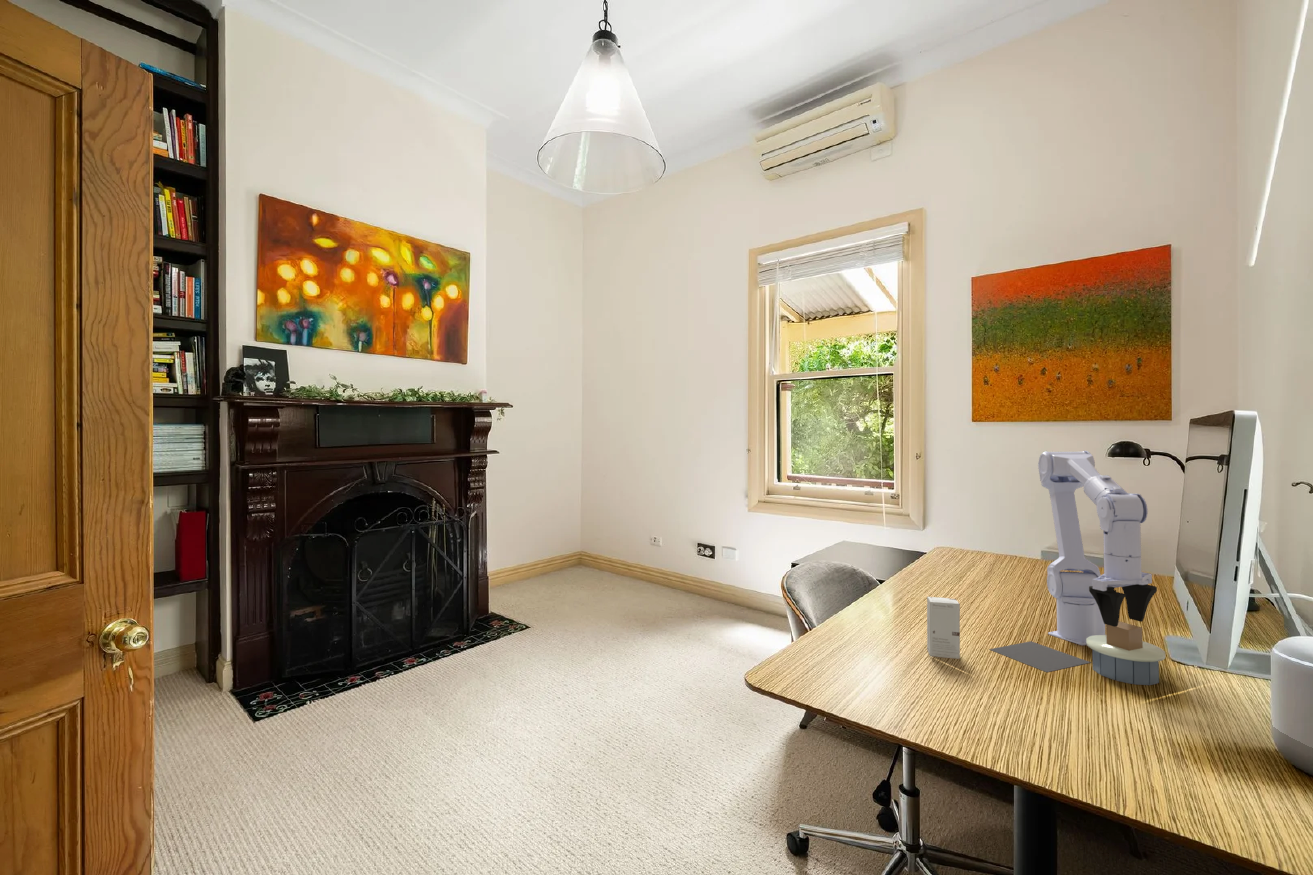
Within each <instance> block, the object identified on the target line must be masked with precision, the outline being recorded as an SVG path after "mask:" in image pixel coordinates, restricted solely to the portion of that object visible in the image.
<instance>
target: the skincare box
mask: <svg viewBox="0 0 1313 875" xmlns="http://www.w3.org/2000/svg"><path fill="white" fill-rule="evenodd" d="M926 603H927V604H926V640H927V641H926V646H927V647H926V649H927V652H928V654H929V656H930V657H934V658H935V657H938V658H945V659H947V658H948V659H959V660H960V658H961V653H960V650H961V637H960V636H961V634H960V633H961V630H960V629H961V627H960V626H961V623H960V622H961V621H960V620H961V618H960V617H961V613H960V612H961V605H960V603H959V601H958V600H957V599H956V598H949V597H935V596H927V597H926Z"/></svg>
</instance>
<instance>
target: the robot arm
mask: <svg viewBox="0 0 1313 875" xmlns="http://www.w3.org/2000/svg"><path fill="white" fill-rule="evenodd" d="M1095 466H1096V462H1095V458H1094V455H1093V454H1092V453H1091V452H1090V451H1088V450H1082V451H1081V450H1079V451H1047V450H1046V451H1043V452H1042V453H1041V454H1040V455H1039V459H1038V464H1037V467H1038V468H1037V469H1038V474H1039V481H1040V483H1041V484H1040V485H1041V487H1043V488H1045V489H1047V490H1048V494H1049V498H1050V504H1051V512H1052V517H1053V524H1054V531H1055V536H1056V543H1057V544H1056V545H1057V550H1058V558H1057V559H1055V560H1054V561H1052V562H1050V564H1049V565H1048V566H1047V569H1046V572H1047V577H1046V585H1047V586H1046V587H1047V590H1048V592H1049V594H1050V595H1051V596H1052V597H1053V598H1055V599H1056V629H1057V630H1054V631H1048V633H1047V635H1049V636H1052V637H1055V638H1058V639H1060V640H1064V641H1067V642H1070V643H1074V644H1076V645H1079V646H1087V644H1086V639H1087V638H1088V637H1090V636H1094V635H1106V624H1107V625H1110V626H1114V627H1116V626H1118V622H1119V621H1120V611H1121V607H1122V603H1123V601H1124V599H1125V602H1126V610H1127V616H1128V618H1129V620H1132V621H1137V622H1140V623H1142V622H1143V621H1144V618H1145V616H1146V612H1147V610H1148V606H1149V604H1150V602H1151V599H1152V598H1153V597H1154V595H1155V594H1156V593H1157V591H1158V588H1157V586H1155V585H1151V584H1152V583H1153V577H1152V575H1153V574H1152V573H1149V572H1144V571H1142V541H1141V540H1142V538H1141V536H1142V535H1141V534H1142V533H1141V526H1142V525H1141V524H1144V523H1145V522H1146V520H1147V518H1148V512H1149V510H1148V503H1147V501H1146V500H1145V498H1144V497H1143V496H1142V494H1140V493H1133V492H1132V493H1131V492H1127V491H1126V490H1125V489H1124V488H1123V487H1122V486H1121V485H1119V483H1117V482H1116V480H1114V479H1113V478H1112V477H1111V476H1110V475H1108V474H1105V475H1104V474H1103V475H1102V474H1101V473H1099V470H1097V468H1095ZM1080 488H1083V492H1084V494H1085V495H1086V497H1088V499H1089V500H1090V501H1091V502H1092V503H1093V504H1094V505H1095V506H1096V513H1097V517H1098V519H1099V527H1100V530H1102V531H1103V574H1101V572H1100V568H1099V566H1098V565H1096V564H1095V563H1093V562H1092V561H1090V560H1089V559H1088V558H1086V557H1085V551H1084V543H1083V539H1082V532H1081V526H1080V522H1079V521H1080V520H1079V515H1078V514H1079V513H1078V509H1077V504H1076V503H1077V502H1076V497H1075V493H1076V490H1078V489H1080ZM1116 588H1121V589H1122V592H1123V593H1122V592H1120V591H1119V592H1118V591H1117V590H1116Z"/></svg>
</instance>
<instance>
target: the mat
mask: <svg viewBox="0 0 1313 875" xmlns="http://www.w3.org/2000/svg"><path fill="white" fill-rule="evenodd" d="M988 650H989V651H990V652H991V651H992V652H994V653H997V654H998V655H1002V656H1005V657H1007V658H1008V659H1009V658H1010V659H1012V660H1013V661H1014V660H1015V661H1016V662H1019V663H1022V664H1024V665H1027V666H1029V667H1033V668H1035V669H1037V670H1039V671H1042V672H1043V673H1050V672H1055V671H1060V670H1065V669H1068V668H1074V667H1078V666H1082V665H1087V664H1091V663H1092V662H1091V661H1088V660H1087V659H1082V658H1079V657H1077V656H1073V655H1071V654H1069V653H1067V652H1066V653H1065V652H1062V651H1060V650H1058V649H1054V648H1052V647H1049V646H1046V645H1044V644H1040V643H1037V642H1034V641H1031V640H1030V641H1024V642H1020V643H1014V644H1010V645H1004V646H999V647H994V648H989V649H988Z"/></svg>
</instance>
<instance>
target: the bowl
mask: <svg viewBox="0 0 1313 875" xmlns="http://www.w3.org/2000/svg"><path fill="white" fill-rule="evenodd" d="M1091 650H1092V652H1091V654H1092V670H1093V671H1094V672H1096V673H1097V674H1099V675H1100V676H1103V677H1105V678H1108V679H1110V680H1113V681H1116V682H1121V683H1124V684H1131V685H1136V686H1137V685H1141V686H1142V685H1143V686H1152V685H1157V684H1159V683H1160V670H1159V669H1160V666H1159V664H1160V661H1157V662H1140V661H1132V660H1125V659H1120V658H1116V657H1112V656H1108V655H1105V654H1102V653H1099V652H1097V651H1095V650H1093V649H1091Z"/></svg>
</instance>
